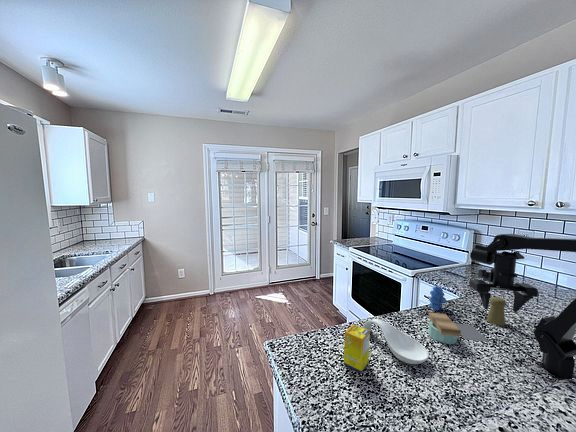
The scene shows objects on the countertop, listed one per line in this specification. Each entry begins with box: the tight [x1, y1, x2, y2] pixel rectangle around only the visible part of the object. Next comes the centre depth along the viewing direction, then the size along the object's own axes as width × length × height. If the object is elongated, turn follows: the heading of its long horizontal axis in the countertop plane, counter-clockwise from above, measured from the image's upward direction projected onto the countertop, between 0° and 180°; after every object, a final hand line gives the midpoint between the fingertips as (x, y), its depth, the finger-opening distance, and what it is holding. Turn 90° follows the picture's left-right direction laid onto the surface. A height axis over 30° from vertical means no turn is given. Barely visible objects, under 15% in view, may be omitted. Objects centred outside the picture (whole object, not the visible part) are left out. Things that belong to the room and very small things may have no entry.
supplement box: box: [343, 324, 371, 374], centre depth 75 cm, size 6×6×11 cm
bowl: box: [427, 320, 459, 345], centre depth 91 cm, size 9×9×4 cm
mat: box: [453, 322, 490, 343], centre depth 95 cm, size 12×8×1 cm, turn 169°
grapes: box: [428, 285, 448, 312], centre depth 112 cm, size 12×7×12 cm, turn 126°
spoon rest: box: [362, 318, 430, 365], centre depth 84 cm, size 24×12×7 cm, turn 32°
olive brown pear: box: [486, 296, 507, 327], centre depth 102 cm, size 6×6×11 cm
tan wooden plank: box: [428, 312, 462, 337], centre depth 91 cm, size 12×6×2 cm, turn 169°
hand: (500, 310), depth 88 cm, fingers open, 9 cm apart
